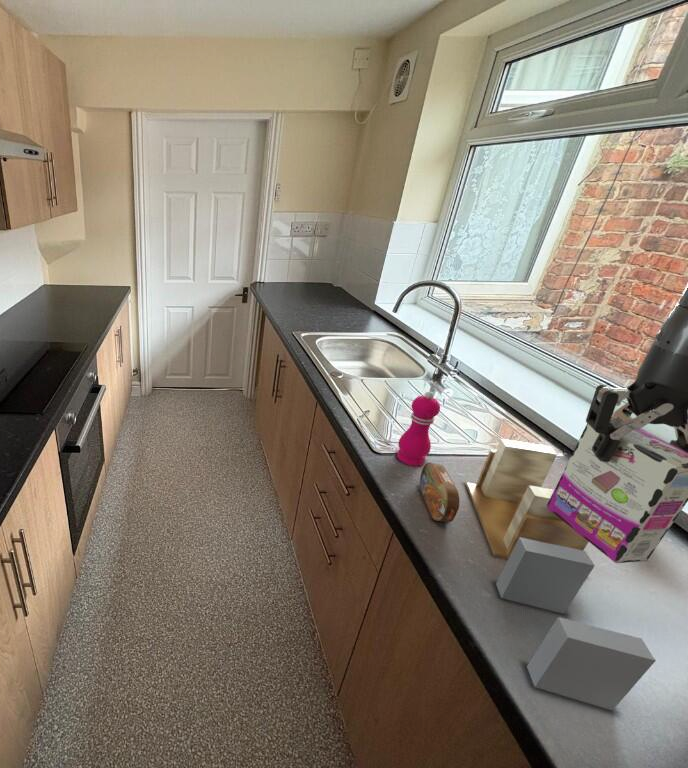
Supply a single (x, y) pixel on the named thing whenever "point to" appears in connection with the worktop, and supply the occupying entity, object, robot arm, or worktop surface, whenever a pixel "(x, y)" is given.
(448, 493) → the tin
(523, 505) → the book rack
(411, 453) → the pepper mill
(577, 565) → the grey blocks
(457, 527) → the worktop surface
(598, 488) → the candy bar box
